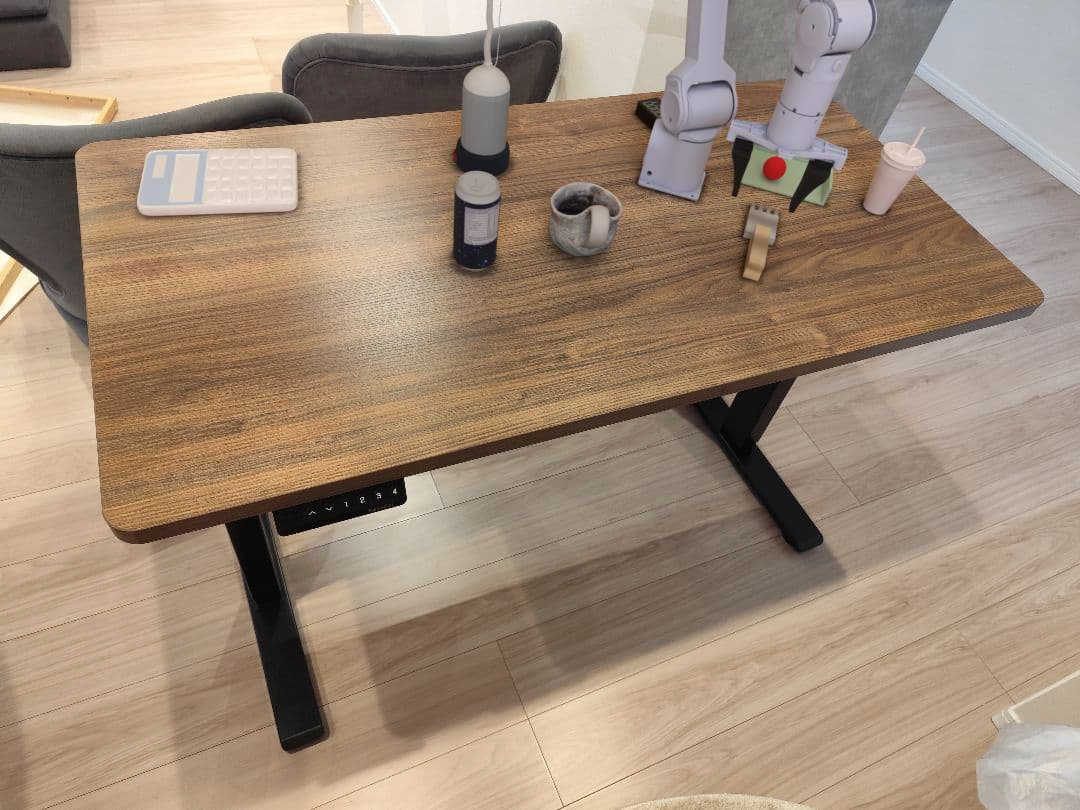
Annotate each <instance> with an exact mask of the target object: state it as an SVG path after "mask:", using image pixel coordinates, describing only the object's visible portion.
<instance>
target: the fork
mask: <svg viewBox="0 0 1080 810" xmlns="http://www.w3.org/2000/svg"><path fill="white" fill-rule="evenodd" d="M756 204H757V203H756V202H751V204H750V207H749V210H748V213H747V216H746V219H745V220H746V221H745V226H744V230H743V234H742V238H743V239H747V240H749V243H748V248H747V254H746V257H745V263H744V268H743V272H742V277H743V278H744V279H745V278H746V279H749V280H752V281H756V282H759V280H760V278H761V275H762V273H763V271H764V268H765V267H766V262H767V256H768V251H769V246H773V245H774V243H775V240H776V237H777V236H776V235H777V231H778V230H777V229H778V226H779V225H778V224H779V219H780V216H779V212H780V209H777V208H774V211H773V212H772V213H771V211H772V207H770V206H767V207H766V209H765V211H763V210H764V205H763V204H759V206H758V208H757V209H756Z"/></svg>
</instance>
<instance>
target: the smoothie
mask: <svg viewBox="0 0 1080 810" xmlns="http://www.w3.org/2000/svg"><path fill="white" fill-rule="evenodd" d="M925 129H926V126H924V125H922V126H920V129H919V131H918V132H917V134H916V136H915V138H914V139H913V141H912V143H911V144H909V143H906V142H901V141H890V142H886V143H885V144H884V145H883V147H882V149H881V150H880V159H879V161H878V163H877V166H876V169H875V171H874V174H873V176H872V179H871V182H870V183H869V187H868V190H867V192H866V195H865V198H864V199H863V203H862V206H863V208H864V210H866V211H867V212H869V213H870V214H873V215H880V216H881V215H885V214H886V213H887V211H888V210H889V209H890V207H891V206H892V205H893V203H894V202H895V201H896V200H897V199H898V197H899V196H900V194H901V193H902V192H903V190H904V189H905V187H907V185H908V184H909V182H910V181H911V180H912V178H913V177H915V174H916V173H917V172H918V171H920V170H921V169H922V168H924V165H925V163H926V161H927V159H926V155H925V154H924V153H923V152H922V150H920V149H919V148H917V147H916V146H917V144H918V142H919V140H920V138H921V136H922V135H923V133H924V132H925Z"/></svg>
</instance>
